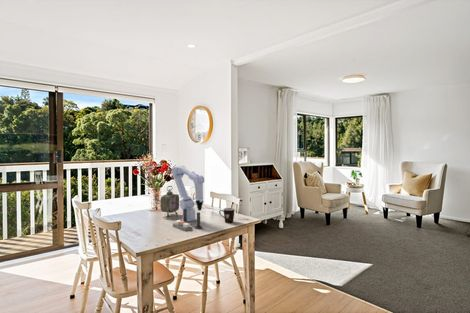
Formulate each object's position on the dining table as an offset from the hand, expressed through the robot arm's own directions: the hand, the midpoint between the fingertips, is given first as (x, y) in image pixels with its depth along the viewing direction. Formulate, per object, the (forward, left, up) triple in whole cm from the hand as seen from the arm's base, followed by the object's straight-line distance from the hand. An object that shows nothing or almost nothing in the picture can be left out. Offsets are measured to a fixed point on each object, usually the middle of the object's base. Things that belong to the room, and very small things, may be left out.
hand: (199, 210), depth 211 cm
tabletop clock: (+3, -38, -11) cm, 39 cm away
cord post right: (+7, +8, -10) cm, 15 cm away
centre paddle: (+15, -1, -7) cm, 17 cm away
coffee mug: (-19, +10, -11) cm, 24 cm away
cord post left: (+7, -9, -10) cm, 16 cm away
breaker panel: (+15, -1, -10) cm, 18 cm away
